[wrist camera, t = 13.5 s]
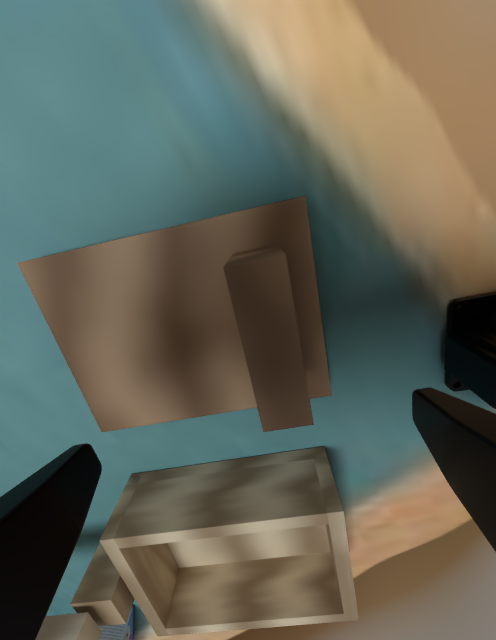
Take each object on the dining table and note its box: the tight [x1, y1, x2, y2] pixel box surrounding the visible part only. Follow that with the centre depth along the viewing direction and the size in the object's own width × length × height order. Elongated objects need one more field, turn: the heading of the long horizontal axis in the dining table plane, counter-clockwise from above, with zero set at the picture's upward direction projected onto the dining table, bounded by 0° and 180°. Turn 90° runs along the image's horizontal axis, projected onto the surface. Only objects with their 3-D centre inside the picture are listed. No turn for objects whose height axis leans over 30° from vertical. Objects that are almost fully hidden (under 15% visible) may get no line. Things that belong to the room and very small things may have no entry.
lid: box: [17, 196, 332, 432], centre depth 15 cm, size 16×12×6 cm
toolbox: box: [71, 446, 358, 636], centre depth 21 cm, size 20×12×6 cm, turn 102°
